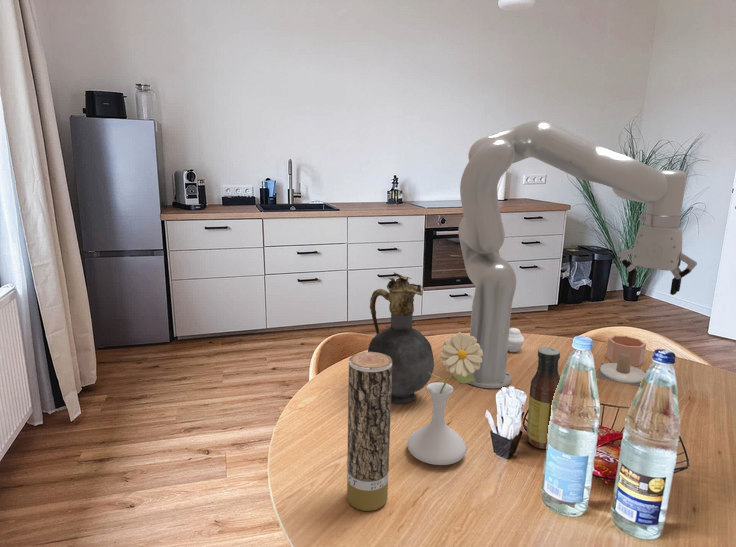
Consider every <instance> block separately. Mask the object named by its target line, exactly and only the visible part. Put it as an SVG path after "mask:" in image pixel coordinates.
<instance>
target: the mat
mask: <svg viewBox="0 0 736 547" xmlns="http://www.w3.org/2000/svg"><path fill="white" fill-rule="evenodd" d="M603 364H604V362H602V363H600V368H601V365H603ZM600 368H599V369H600ZM642 371H643V372H644V373H646V374H647V371H646V370H642ZM597 378H598V379H601V380H604V381H605V380H606V381H610V382H615V383H616V382H617V383H620V384H623V383H622V382H618V381H614V380H611V379H609V378H607V377H605V376H603V375H602V374H601V372H600V370H599V372H598V377H597ZM624 384H627V385H631V386H636V387H640V383H636V384H630V383H624Z"/></svg>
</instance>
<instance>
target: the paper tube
mask: <svg viewBox="0 0 736 547" xmlns="http://www.w3.org/2000/svg"><path fill="white" fill-rule="evenodd" d="M347 387H348V389H347V390H348V391H347V393H348V396H347V398H348V399H347V400H348V402H347V403H348V404H347V460H346V461H347V464H346V465H347V466H346V468H347V469H346V473H347V474H346V480H347V481H346V482H347V484H346V485H347V486H346V496H347V497H346V498H347V501H348V503H349V504H350V505H351V506H352V507H353V508H355V510H359V511H363V512H365V511H366V512H373V511H376V510H379V509H381V508H382V507H383V506H384V505H385V504H386V503H387V500H388V495H389V494H388V493H389V473H390V472H389V471H390V470H389V469H390V468H389V466H390V444H391V443H390V440H391V439H390V438H391V416H392V414H391V412H392V411H391V409H392V408H391V407H392V402H391V387H392V359H391V358H390V357H389V356H387V355H385V354H382V353H377V352H368V351H365V352H363V351H362V352H357V353H355V354H353V355H351V356H350V357H349V359H348V386H347Z"/></svg>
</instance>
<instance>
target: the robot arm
mask: <svg viewBox="0 0 736 547" xmlns="http://www.w3.org/2000/svg"><path fill="white" fill-rule="evenodd" d="M528 158H534V159H536V160H538V161H541V162H542V163H544V164H546V165H549V166H551V167H553V168H555V169H558V170H559V171H562V172H564V173H565V174H568V175H570V176H572V177H574V178H576V179H577V178H578V179H580V180H583V181H587V182H590V183H591V182H592V183H597V184H600V185H602V186H603V185H604V186H607V187H609V188H612V191H613V193H614V194H615V195H616V196H617V197H619V198H621V199H623V200H627V201H633V202H638V203H643V204H646V207H645V212H644V213H643V214H642V215H641V214H639V216H638V218H637V220H638V221H640V222H642V223H643V225H640V226H639V228H638V231H637V233H636V236H635V237H636V238H635V241H634V246H633V248H629V249H626V250H623V251H620V252H619V253H618V254H619V257H620V258H619V259H620V260H621V261H622V262H621V263H622V265H623V266H624V268H626V270H627V280H626V282H627V284H628V285H627V286H628V288H633V287H635V286H636V282H637V276H638V270H637V268H639V267H640V268H647V269H653V270H660V271H670V273H671V274H672V275H673V276H674V277H673V278H672V279H671V286H670V291H669V292H670V293H669V294H670V296H674V295H676V294H677V293H678V292H680V290H681V283H682V279H683V278H684V277H686V276H688V275H689V274H690V273H692V270H694V269H695V268H696V267H697V265H698V263H697V261H695V260H694V259H693V258H691V257H689V256H688V255H686V254H685V253H683V229H682V228H680V223H681V216H682V211H683V210H682V209H683V202H684V196H685V191H686V190H685V188H686V184H687V182H686V181H687V175H686V174H687V173H686V172H684V171H682V170H675V169H656V168H654V167H652V166H650V165H648V164H646V163H643V162H641V161H639V160H638V159H635V158H633V157H630V156H628V155H624V154H623V153H619V152H617V151H614V150H612V149H610V148H607V147H605V146H602V145H599V144H598V143H594V142H593V141H590V140H588V139H586V138H584V137H582V136H580V135H577V134H575V133H573V132H571V131H569V130H567V129H566V128H564V127H561V126H559V125H557V124H556V123H553V122H549V121H547V120H535V121H533V120H532V121H528V122H524V123H521V124H518V125H516V126H513V127H510V128H508V129H504V130H503V131H500V132H496V133H492V134H490V135H487V136H485V137H482V138H480V139H478V140H476V141H475V142H474V143H473V144H472V145H471V146H470V148H469V150H468V163H467V164H466V166H465V168H464V170H463V173H462V176H461V179H460V184H459V193H460V202H461V209H462V215H463V217H462V218H461V220H460V222H459V224H458V225H459V226H458V239H459V244H460V249H461V250H460V251H461V253H462V258H463V262H464V267H465V272H466V274H467V277H468V278H469V280H470V281H471V283H472V284H473V285H474V286H475V289H474V295H473V299H472V300H473V301H472V306H471V313H470V314H471V315H470V328H469V329H470V331H469V336H470V337H471V336H473V337H474V338H475V339H477V342H476V343H478V344H479V345H480V349H482V351H483V352H482V353H483V356H482V357H481V358H482V363H480V369H479V370H476V371H475V372H474V373H471V374H472V375H473V376H474V378H475V380H474V381H472V382H469V383H468V384H470V385H472V386H474V387H478V388H483V389H500V388H501V387H502V386H504V387H502V388H505V387H507V386H509V385H510V384H511V383H512V375H511V373H510V372H508V371H507V362H508V361H507V360H508V352H509V351H508V340H509V329H510V328H511V327H510V325H511V314H512V306H513V300H514V298H515V293H516V289H517V275H516V272H515V269H514V268H513V266H512V265H511V264H510V263H509V262H508V261H507V260H505V259H504V258H503V257H501V254H500V249H501V248H502V246H503V245H504V242H505V229H504V224H503V219H502V215H501V211H500V203H499V197H498V185H499V182H500V180H501V178H502V176H503V175H504V174H505V173H506V172H507V171H508V170H509V169H510V167H511V166H512V165H513V164H515V163H518V162H520V161H523V160H526V159H528ZM629 255H631V261H630V260H629V259H628V256H629ZM682 262H683V263H685V264H686V265H687V267H686V268H685V269H684V270H682V269H681V268H680V266H681V263H682Z"/></svg>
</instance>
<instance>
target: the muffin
mask: <svg viewBox="0 0 736 547" xmlns="http://www.w3.org/2000/svg"><path fill="white" fill-rule="evenodd" d="M524 343H525V337H524V336H523V335H522V333H521V330H520V329H519V328H516V327H510V329H509V340H508V351H507V352H510V353H518V352H519V351H520V350H521V348H522V347H523V344H524Z"/></svg>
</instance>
